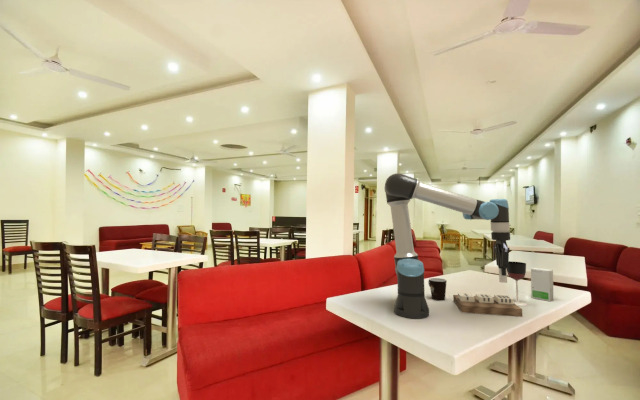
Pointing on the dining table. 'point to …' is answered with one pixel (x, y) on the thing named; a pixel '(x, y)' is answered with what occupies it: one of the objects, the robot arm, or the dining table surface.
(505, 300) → the tile three
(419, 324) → the dining table surface
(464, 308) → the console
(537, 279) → the skincare box
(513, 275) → the wineglass
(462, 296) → the tile one
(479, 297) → the tile two
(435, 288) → the coffee mug
